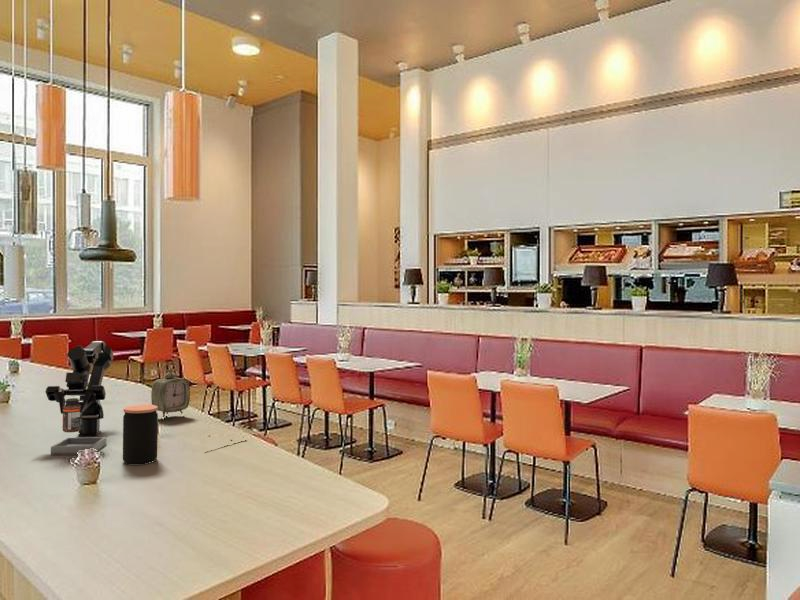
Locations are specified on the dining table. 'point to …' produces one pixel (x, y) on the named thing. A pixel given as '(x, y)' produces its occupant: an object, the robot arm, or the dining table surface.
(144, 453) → the coffee jar
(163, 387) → the tabletop clock
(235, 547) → the dining table surface
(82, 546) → the dining table surface
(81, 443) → the tray
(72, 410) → the supplement bottle
